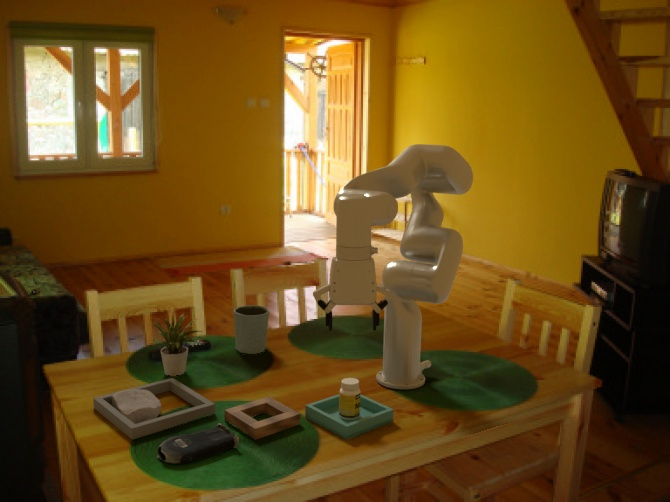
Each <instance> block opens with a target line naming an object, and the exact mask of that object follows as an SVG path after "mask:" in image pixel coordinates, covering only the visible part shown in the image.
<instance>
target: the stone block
mask: <svg viewBox="0 0 670 502" xmlns="http://www.w3.org/2000/svg"><path fill="white" fill-rule="evenodd" d="M129 389H130V390H127V389H124V390H119V391H120V392H119V391H116V392H117V393H115V392H114V393H115V394H113V395H112V406H113V407H114V408H115V409H117V410H118V411H119V412H120V413H122V414H123V415H124V416H125V417H127V418H128V419H129V420H131V421H132V422H133V423H134V424H137V423H141V422H144V421H148V420H151V419H155V418H158V416H159V415H160V413H161V410H162V403H161V401H160V400H159V398H157V396H156V395H154V394H153V393H151V392H150V391H148V390H144V389H131V388H129Z"/></svg>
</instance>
